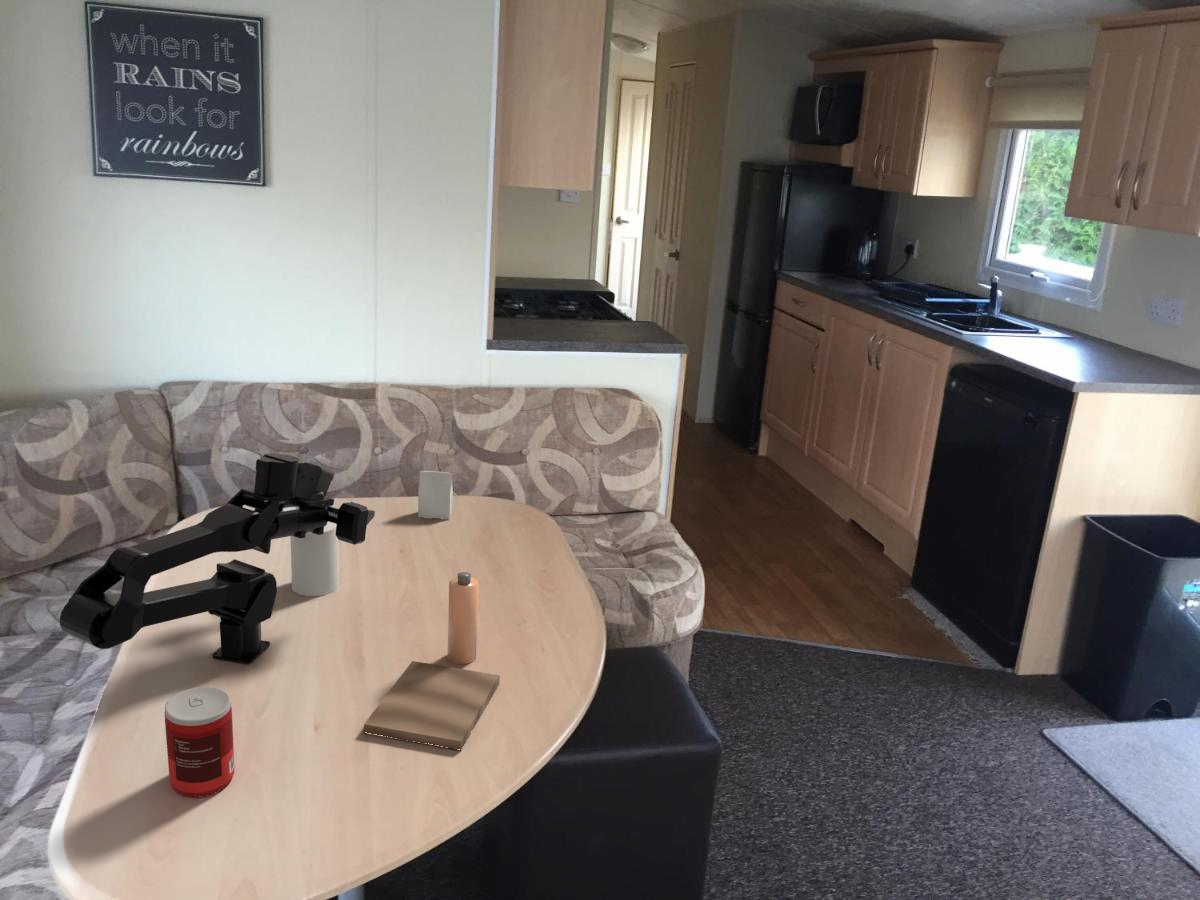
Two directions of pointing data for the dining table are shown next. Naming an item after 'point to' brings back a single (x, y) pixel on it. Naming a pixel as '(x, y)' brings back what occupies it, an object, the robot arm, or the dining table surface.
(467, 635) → the peach bottle with cap
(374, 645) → the dining table surface
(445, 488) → the light grey box
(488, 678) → the cardboard sheet
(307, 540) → the white cylinder
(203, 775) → the canned food
